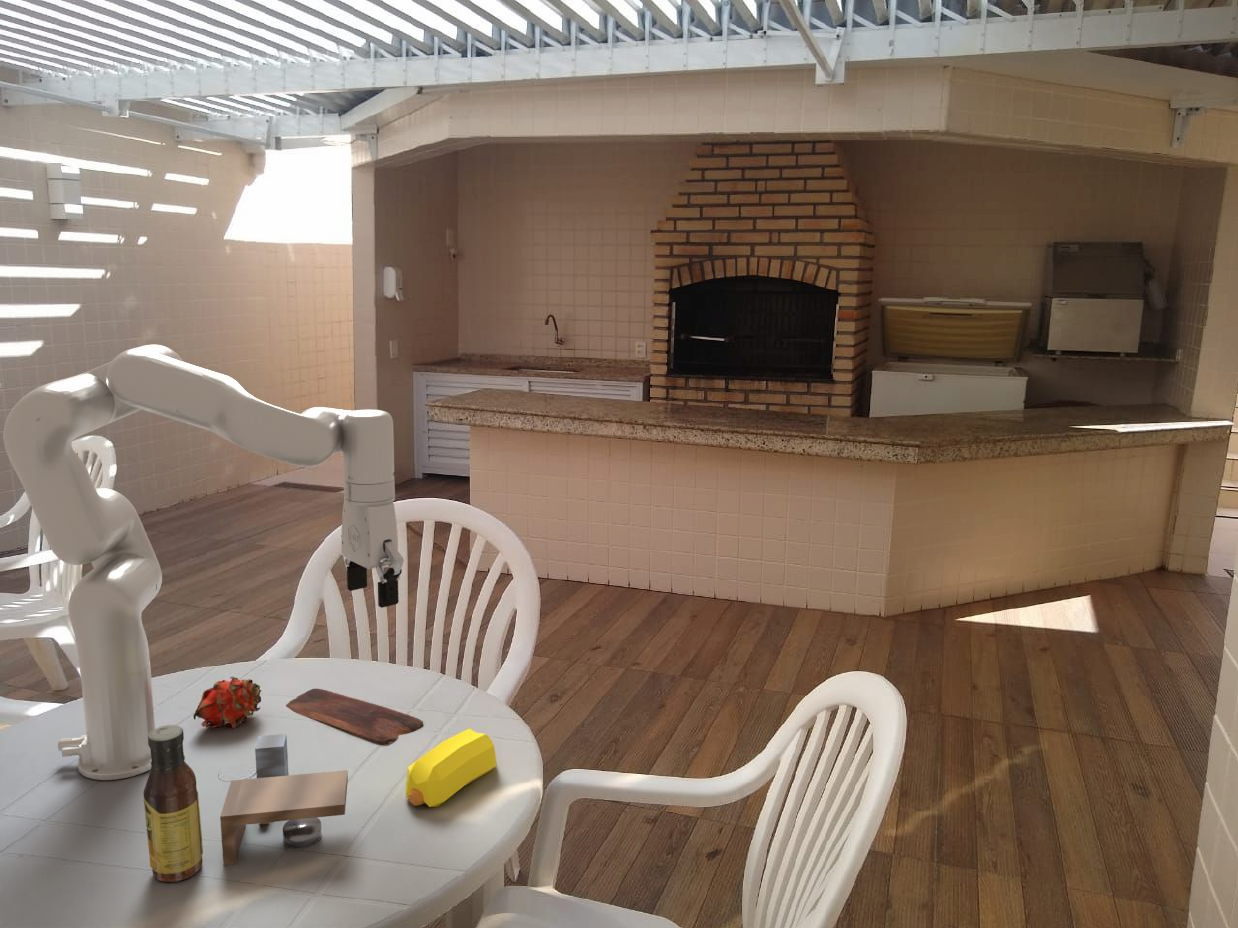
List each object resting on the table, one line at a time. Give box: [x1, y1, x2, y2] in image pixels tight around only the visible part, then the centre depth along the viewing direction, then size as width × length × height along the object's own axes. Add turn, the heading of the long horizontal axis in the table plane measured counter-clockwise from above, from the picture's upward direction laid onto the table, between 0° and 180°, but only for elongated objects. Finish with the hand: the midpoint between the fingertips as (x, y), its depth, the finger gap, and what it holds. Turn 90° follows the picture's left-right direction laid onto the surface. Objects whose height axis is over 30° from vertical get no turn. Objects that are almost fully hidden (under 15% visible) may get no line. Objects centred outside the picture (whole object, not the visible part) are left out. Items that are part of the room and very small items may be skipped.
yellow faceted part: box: [405, 728, 498, 808], centre depth 147 cm, size 18×7×8 cm
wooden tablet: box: [285, 688, 424, 746], centre depth 169 cm, size 26×2×10 cm
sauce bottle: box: [142, 724, 204, 883], centre depth 123 cm, size 6×6×20 cm
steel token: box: [282, 817, 322, 849], centre depth 133 cm, size 5×5×2 cm
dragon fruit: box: [193, 676, 262, 729], centre depth 164 cm, size 8×8×12 cm
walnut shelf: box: [219, 769, 349, 866], centre depth 132 cm, size 16×9×7 cm, turn 103°
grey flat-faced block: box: [254, 733, 290, 826], centre depth 141 cm, size 4×13×7 cm, turn 13°
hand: (372, 596), depth 152 cm, fingers open, 9 cm apart
